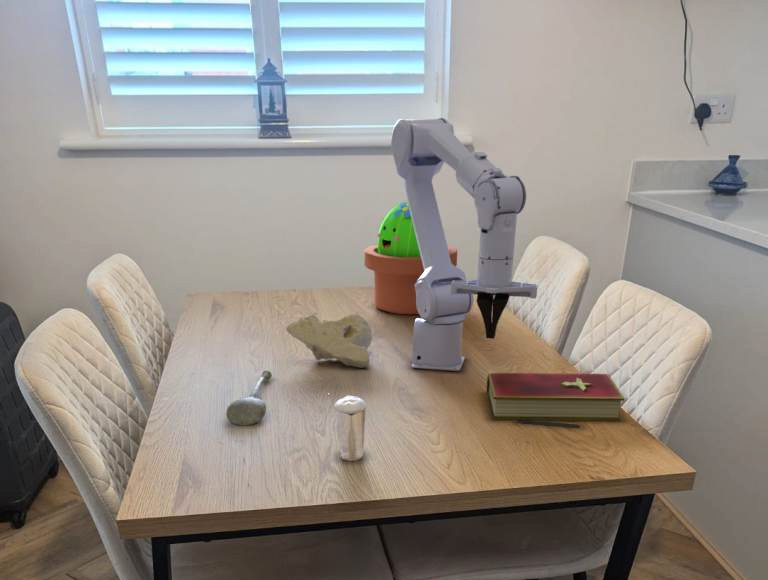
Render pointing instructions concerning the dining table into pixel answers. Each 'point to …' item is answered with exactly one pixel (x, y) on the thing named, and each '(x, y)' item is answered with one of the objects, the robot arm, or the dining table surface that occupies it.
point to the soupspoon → (248, 406)
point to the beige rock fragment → (335, 338)
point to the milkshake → (350, 426)
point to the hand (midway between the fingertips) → (490, 336)
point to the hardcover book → (553, 397)
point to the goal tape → (549, 423)
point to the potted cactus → (397, 262)
